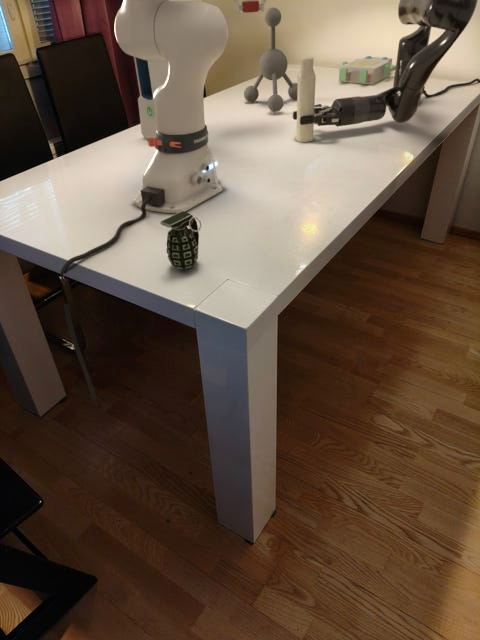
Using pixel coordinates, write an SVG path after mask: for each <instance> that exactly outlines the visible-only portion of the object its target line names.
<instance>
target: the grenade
mask: <svg viewBox="0 0 480 640" xmlns="http://www.w3.org/2000/svg"><path fill="white" fill-rule="evenodd" d="M198 222H199V226H198ZM159 224H160V225H162V226H164V227H166V228H169V230H168V231H167V236H166V254H167V259H168V261H169V263H170V265H171V266H172V267H174V268H176V269H178V270H181V271H186V270H189V269H192V267H194V266H195V265H196V264H197V262H198V261H197V260H198V259H199V243H200V241H199V240H200V233H199V232H200V231H201V228H202V221H201V220H200V219H199V218H198V217H197V216H194V215H193V214H192V213H189V212H187V211H185V212H184V211H181V212H179V213H174V214H172V215H170V216H169V217H166V218H165V219H162V220H160V222H159ZM198 227H199V228H198Z"/></svg>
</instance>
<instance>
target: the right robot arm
mask: <svg viewBox="0 0 480 640" xmlns="http://www.w3.org/2000/svg"><path fill="white" fill-rule="evenodd" d="M477 5H478V0H399V2H398V7H397V9H398V10H397V17H398V20H399V22H400V23H401V24H402V25H405V26H406V25H407V26H409V25H412V26H413V25H417V26H419V27H418V28H417V29H416V30H415V31H413V32H412V33H410V34H408V35H404V36H403V37H401V38H400V39H399V42H398V48H397V55H396V61H395V65H396V69H395V70H394V78H393V85H392V87H391V88H388V89H387V90H384V91H381V92H380V93H377V94H373V95H365V96H349V97H343V98H336V99H334V100H333V102H332V105H330V106H329V105H322V104H321V103H319V104H314V115H308V116H301V117H300V124H301V125H306V124H314V125H317V126H318V127H322V126H323V127H325V126H335V127H344V126H351V125H358V124H362V123H366V122H367V123H368V122H372V121H378V120H381V119H383V118H384V117H385V115H386V113H387V109H388V111H389V113H390V115H391V118H392V119H393V121H394V122H396V123H397V124H404V123H406V122H408V121H410V120H411V119H412V118H413V117H414V116H415V114H416V112H417V110H418V108H419V105H420V101H421V97H422V95H423V96H424V97H426V98H433V97H437V96H440V95H442V94H443V93H446V92H447V91H448V90H449V89H451V88H457V87H464V86H470V85H473V84H474V83H476V82H477V83H478V84H480V78H474V79H473V80H471V81H468V82H462V83H455V84H451V85H447V86H446V87H445V88H444V89H442V90H440V91H438V92H435V93H433V94H428V93H427V91H426V89H425V87H426V86H425V85H426V84H427V82H428V81H429V79H430V77H431V75H432V74H433V72H434V71H435V68H436V67H437V66H438V64H439V63H440V61H441V60H442V59H443V58H444V57H445V55H446V54H447V53H448V52H449V50H450V49H452V47H453V45H454V44H455V43H456V41H457V40H458V38H459V37H460V36H461V34H462V33H463V32H464V30H465V29H466V28H467V26H468V25H469V23H470V21H471V20H472V17H473V16H474V13H475V11H476V8H477ZM432 28H435V29H440V30H444V31H443V33H441V35H439V37H437V38H436V39H435V40H433V41H432V42H431V43H429V42H430V37H431V31H432ZM292 119H293V120H295V121H297V110H295V111H293V112H292Z"/></svg>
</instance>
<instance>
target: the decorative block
mask: <svg viewBox="0 0 480 640" xmlns="http://www.w3.org/2000/svg"><path fill="white" fill-rule="evenodd" d="M392 63H393V58H392V57H387V56H383V57H379V56H371V55H367V56H365V57H362V58H357V59H354V60H352V61H350V62H348V61H343V62H342V65H341V66H340V68H339V73H338V82H341V83H342V82H343V83H353V84H362V85H363V84H364V85H375V84H377V83H378V82H380V81H382V80H385V79H386V78H389V77H390V74H391V72H395V69H396V64H395V65H394V64H392Z"/></svg>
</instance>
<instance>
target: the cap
mask: <svg viewBox="0 0 480 640" xmlns="http://www.w3.org/2000/svg"><path fill="white" fill-rule="evenodd" d="M259 4H260V1H259V0H243V1H241V5H243V13H247V14H248V13H257V12H258V11H259ZM258 13H259V12H258Z"/></svg>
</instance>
